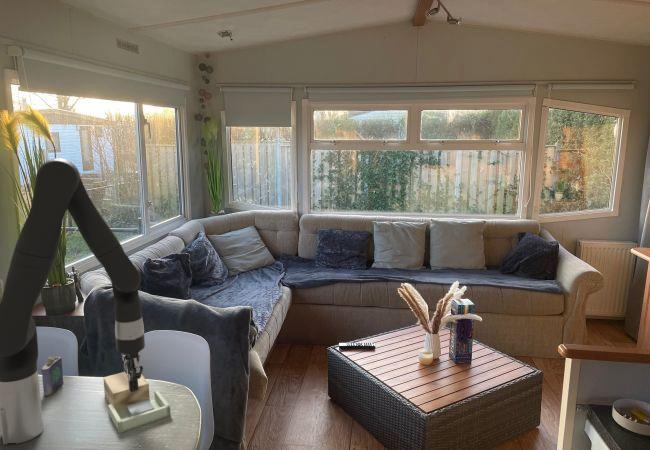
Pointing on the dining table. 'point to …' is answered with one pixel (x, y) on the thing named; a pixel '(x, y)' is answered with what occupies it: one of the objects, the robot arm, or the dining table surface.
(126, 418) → the tray
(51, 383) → the flask
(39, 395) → the robot arm
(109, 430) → the dining table surface
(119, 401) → the cardboard box
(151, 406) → the tile
